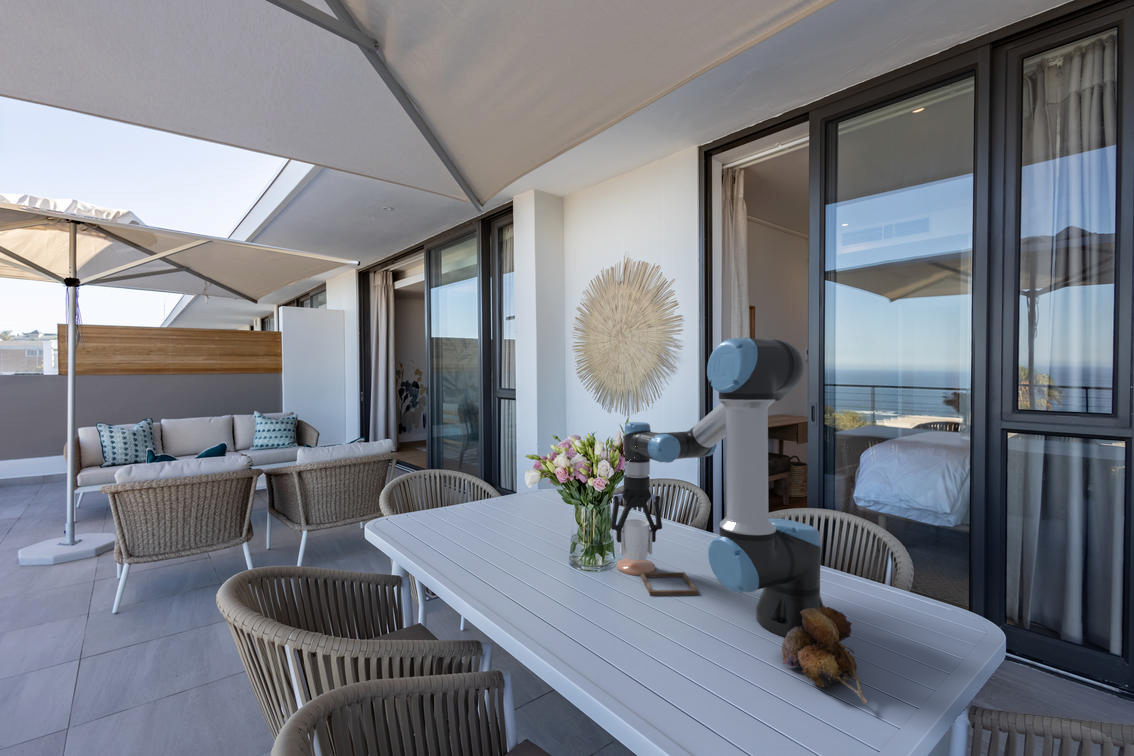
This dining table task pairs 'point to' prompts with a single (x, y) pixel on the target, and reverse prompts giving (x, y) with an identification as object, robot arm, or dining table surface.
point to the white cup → (636, 539)
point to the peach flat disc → (635, 566)
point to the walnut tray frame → (669, 592)
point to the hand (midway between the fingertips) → (635, 552)
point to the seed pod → (822, 648)
